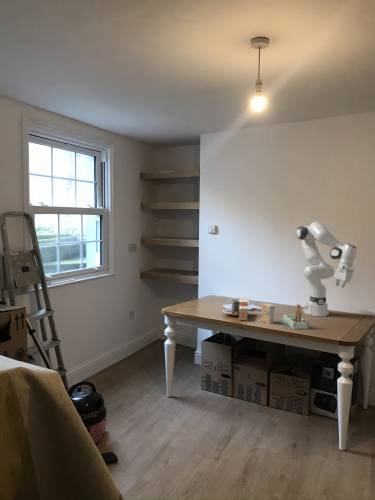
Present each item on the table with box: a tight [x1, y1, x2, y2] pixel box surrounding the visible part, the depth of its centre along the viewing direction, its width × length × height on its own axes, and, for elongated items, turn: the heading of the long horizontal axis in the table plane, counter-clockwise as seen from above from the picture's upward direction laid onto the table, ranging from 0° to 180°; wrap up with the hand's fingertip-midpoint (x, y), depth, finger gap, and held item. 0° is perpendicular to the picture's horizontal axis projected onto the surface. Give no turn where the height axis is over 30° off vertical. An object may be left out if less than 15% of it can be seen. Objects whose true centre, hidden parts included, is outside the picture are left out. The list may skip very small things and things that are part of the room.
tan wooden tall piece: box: [294, 304, 302, 323], centre depth 265 cm, size 7×5×14 cm
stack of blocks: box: [238, 298, 249, 322], centre depth 290 cm, size 21×6×12 cm, turn 172°
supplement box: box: [261, 303, 275, 324], centre depth 276 cm, size 8×5×13 cm, turn 31°
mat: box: [276, 319, 315, 330], centre depth 271 cm, size 22×20×1 cm
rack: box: [282, 313, 310, 330], centre depth 271 cm, size 24×10×4 cm, turn 4°
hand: (339, 286), depth 264 cm, fingers open, 8 cm apart
